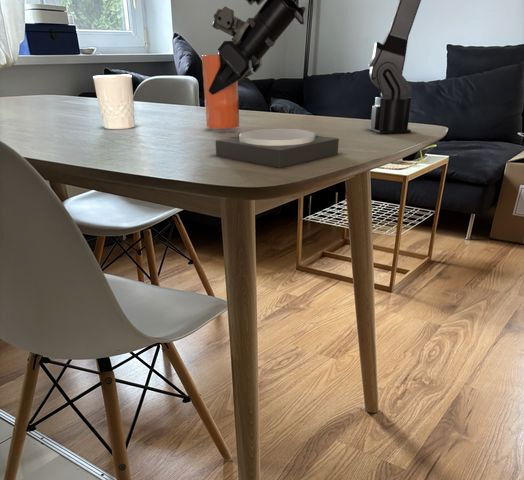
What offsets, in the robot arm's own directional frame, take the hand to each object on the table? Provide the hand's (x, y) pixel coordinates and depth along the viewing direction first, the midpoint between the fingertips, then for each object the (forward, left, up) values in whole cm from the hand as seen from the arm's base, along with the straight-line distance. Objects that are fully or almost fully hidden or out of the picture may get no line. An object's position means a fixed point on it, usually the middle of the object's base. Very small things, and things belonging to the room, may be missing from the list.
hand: (214, 91), depth 104 cm
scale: (-7, +30, -7) cm, 32 cm away
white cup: (+21, -10, -7) cm, 24 cm away
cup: (-1, 0, -7) cm, 7 cm away
